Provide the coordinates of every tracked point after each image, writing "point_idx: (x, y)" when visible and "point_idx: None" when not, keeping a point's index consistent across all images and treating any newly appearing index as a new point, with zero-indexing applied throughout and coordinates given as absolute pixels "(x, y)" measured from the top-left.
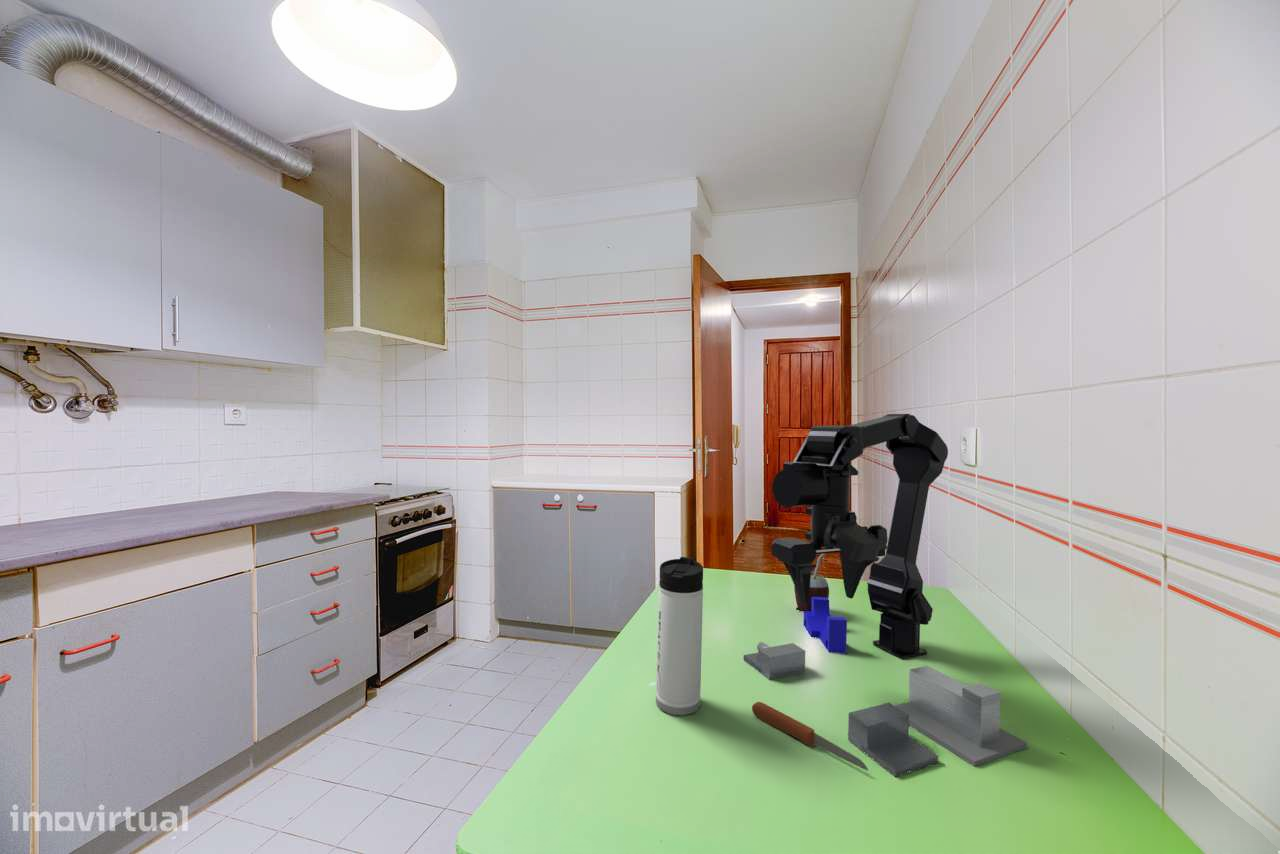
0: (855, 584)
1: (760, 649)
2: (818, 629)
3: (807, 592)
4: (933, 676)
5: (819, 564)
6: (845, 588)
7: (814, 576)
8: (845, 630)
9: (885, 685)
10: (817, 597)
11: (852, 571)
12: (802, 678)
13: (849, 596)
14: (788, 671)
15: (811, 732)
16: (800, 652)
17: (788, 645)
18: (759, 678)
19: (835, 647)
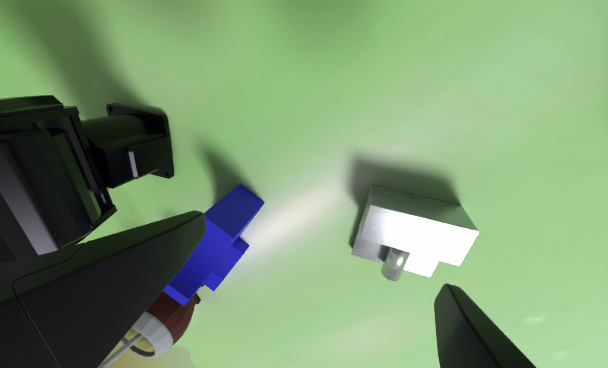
0: (141, 237)
1: (455, 262)
2: (229, 248)
3: (502, 345)
4: None
5: (102, 363)
6: (185, 258)
7: (135, 340)
8: (218, 205)
9: (274, 68)
10: (176, 298)
11: (77, 309)
12: (396, 173)
13: (201, 222)
14: (414, 198)
15: None
16: (385, 207)
17: (380, 238)
18: (472, 219)
19: (250, 199)
